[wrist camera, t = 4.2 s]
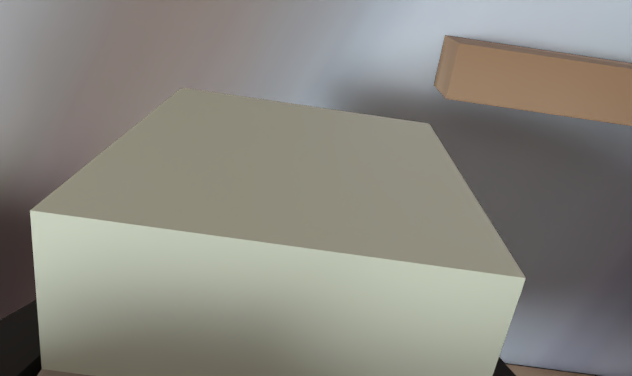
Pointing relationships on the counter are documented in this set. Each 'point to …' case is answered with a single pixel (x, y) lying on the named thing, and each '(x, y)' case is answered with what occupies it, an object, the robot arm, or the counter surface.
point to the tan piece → (535, 91)
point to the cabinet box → (270, 250)
